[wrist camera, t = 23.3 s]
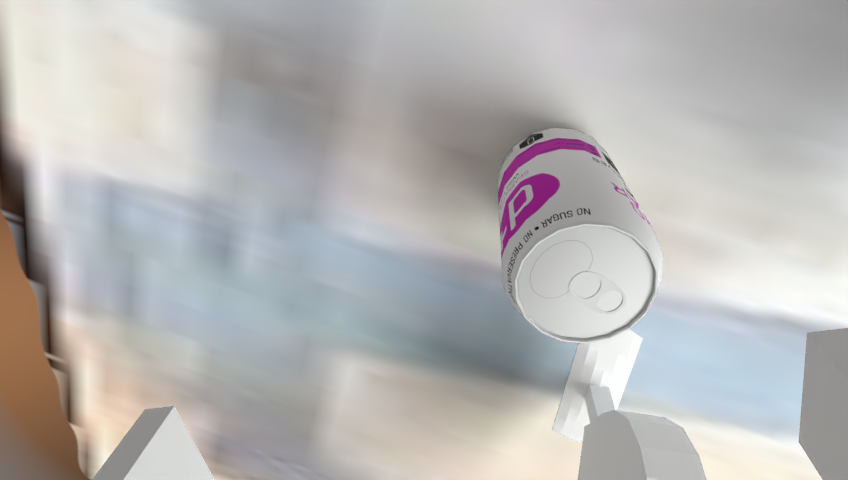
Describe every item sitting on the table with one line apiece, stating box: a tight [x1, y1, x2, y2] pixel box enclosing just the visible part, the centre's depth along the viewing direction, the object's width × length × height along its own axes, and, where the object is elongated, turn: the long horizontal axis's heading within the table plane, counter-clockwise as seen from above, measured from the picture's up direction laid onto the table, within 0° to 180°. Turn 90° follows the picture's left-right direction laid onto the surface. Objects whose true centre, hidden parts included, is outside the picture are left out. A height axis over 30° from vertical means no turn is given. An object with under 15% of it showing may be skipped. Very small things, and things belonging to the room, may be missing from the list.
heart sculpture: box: [553, 330, 706, 480], centre depth 42 cm, size 16×5×18 cm, turn 173°
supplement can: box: [498, 128, 663, 344], centre depth 35 cm, size 8×8×15 cm
